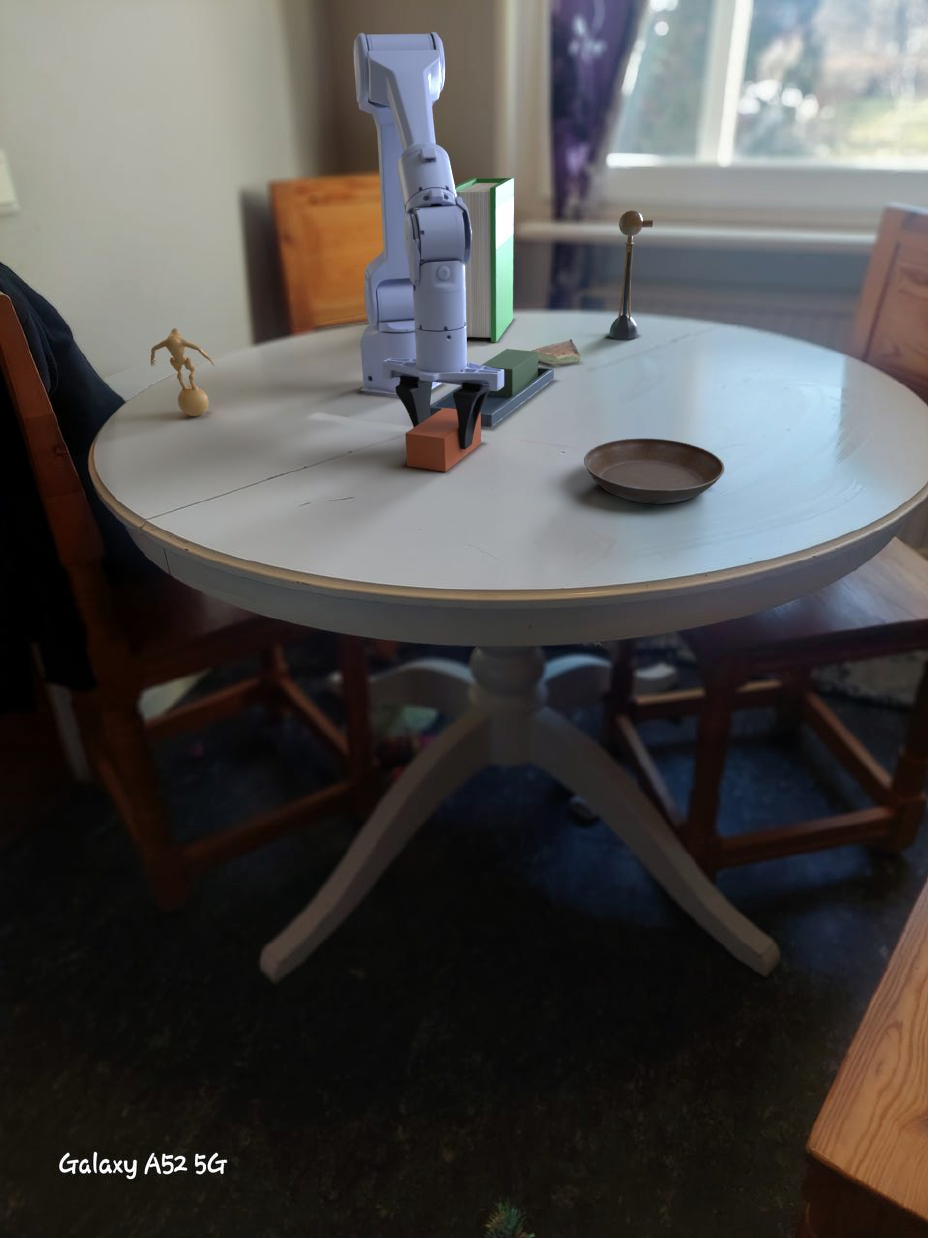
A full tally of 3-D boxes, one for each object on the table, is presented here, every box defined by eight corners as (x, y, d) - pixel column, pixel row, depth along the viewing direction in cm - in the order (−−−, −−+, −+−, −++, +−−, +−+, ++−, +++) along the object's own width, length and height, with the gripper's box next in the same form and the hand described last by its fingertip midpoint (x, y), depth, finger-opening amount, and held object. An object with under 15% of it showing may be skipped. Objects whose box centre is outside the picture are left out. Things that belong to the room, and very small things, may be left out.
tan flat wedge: (570, 348, 146) (571, 337, 145) (606, 356, 141) (607, 344, 140) (525, 360, 140) (526, 349, 139) (561, 369, 135) (562, 357, 134)
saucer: (748, 501, 90) (752, 476, 89) (618, 521, 87) (620, 496, 86) (679, 454, 103) (681, 431, 101) (562, 469, 99) (563, 446, 98)
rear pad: (479, 394, 123) (479, 365, 121) (506, 375, 131) (506, 348, 129) (512, 397, 121) (512, 369, 119) (537, 378, 129) (538, 351, 127)
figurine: (229, 410, 120) (215, 321, 114) (217, 424, 115) (201, 332, 109) (170, 410, 121) (153, 321, 115) (155, 425, 116) (136, 332, 110)
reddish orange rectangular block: (407, 466, 101) (405, 432, 99) (444, 438, 109) (443, 407, 107) (445, 472, 99) (444, 438, 97) (481, 443, 107) (480, 412, 105)
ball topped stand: (642, 332, 154) (652, 208, 143) (644, 339, 150) (654, 211, 139) (608, 332, 154) (616, 208, 144) (609, 339, 150) (617, 212, 140)
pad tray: (427, 421, 115) (427, 406, 114) (496, 375, 133) (496, 362, 132) (491, 429, 111) (491, 414, 110) (553, 381, 129) (554, 368, 128)
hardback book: (496, 342, 150) (495, 187, 138) (454, 341, 151) (450, 187, 139) (512, 319, 165) (513, 177, 152) (474, 318, 166) (472, 177, 154)
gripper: (365, 328, 96) (374, 446, 103) (485, 339, 90) (486, 462, 98) (396, 314, 101) (402, 427, 108) (511, 324, 96) (510, 442, 103)
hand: (444, 443), depth 103 cm, fingers closed on reddish orange rectangular block, 5 cm apart
